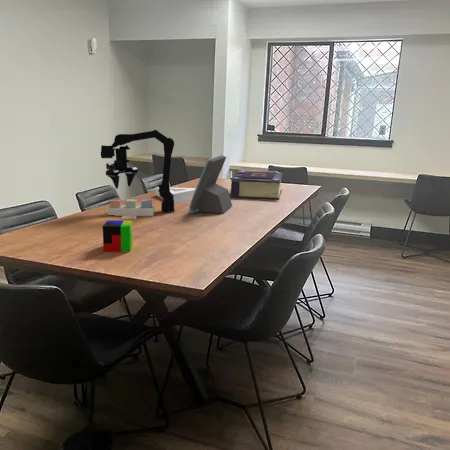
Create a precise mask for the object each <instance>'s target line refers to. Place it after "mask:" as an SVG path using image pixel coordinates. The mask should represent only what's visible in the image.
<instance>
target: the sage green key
mask: <svg viewBox="0 0 450 450" xmlns="http://www.w3.org/2000/svg"><path fill="white" fill-rule="evenodd" d="M137 201H138V200H137V199H129V198H126V200H125V206H126V208H136V207H137V206H138V205H137V204H138V202H137Z"/></svg>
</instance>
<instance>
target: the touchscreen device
mask: <svg viewBox="0 0 450 450" xmlns="http://www.w3.org/2000/svg"><path fill="white" fill-rule="evenodd" d="M226 159H227V156H225V155H223V154H219V155H216V156H214V157H210V158H208V159H207V161H206V163H205V165H204V168H203V170H202V173H201V175H200V178H199V180H198V182H197V185H196V187H195V188H196V189H195V192H194V194H193V198H192V200H190V205H189V213H190V214H194V213H197V212H198V213H199V212H203V213H210V214H211V213H212V214H220V215H224V214H226V213H227V212H228V211H229V210H230V209H232V208H233V204H232V201H231V200H232V199H231V196H230V193H229V189H228V188H226V187H224V186H222V185H220V184H218V183H217V182H218V181H217V180H218V178H219V176H220V173H221V171H222V170H223V166H224V164H225V162H226Z"/></svg>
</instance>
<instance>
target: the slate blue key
mask: <svg viewBox="0 0 450 450" xmlns="http://www.w3.org/2000/svg"><path fill="white" fill-rule="evenodd" d="M140 206H141V208H152V206H153V199H142V200H141V201H140Z"/></svg>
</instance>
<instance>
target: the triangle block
mask: <svg viewBox="0 0 450 450" xmlns="http://www.w3.org/2000/svg"><path fill="white" fill-rule="evenodd" d="M195 189H196V187H194V188H193V187H170V192H171V193H172V194H173V195H174V199H173V200H174V204H177V203H178V202H179V203H182V201H183V202H186V201H191V199H192V198H193V194H194V192H195ZM158 190H159V186H155V196H156V195H157V196H159V197H161V196H160V195H159V192H158ZM157 196H156V197H157ZM159 197H158V198H159ZM160 199H162V197H161V198H160Z"/></svg>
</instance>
